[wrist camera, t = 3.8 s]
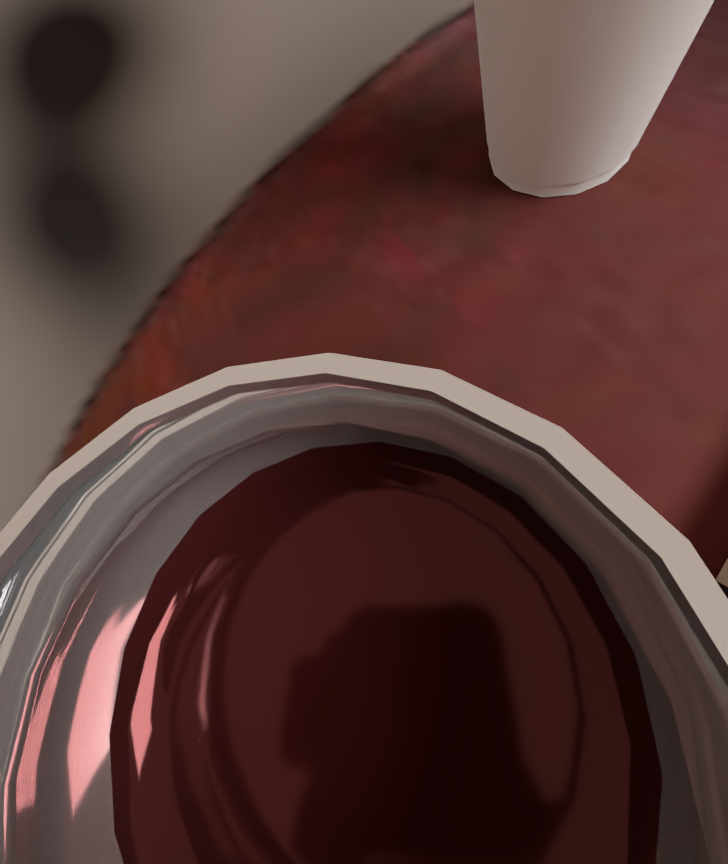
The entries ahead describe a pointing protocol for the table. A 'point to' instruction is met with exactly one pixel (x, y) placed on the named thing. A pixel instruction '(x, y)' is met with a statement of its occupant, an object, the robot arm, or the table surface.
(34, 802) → the wineglass
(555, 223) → the table surface
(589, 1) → the foam cup
